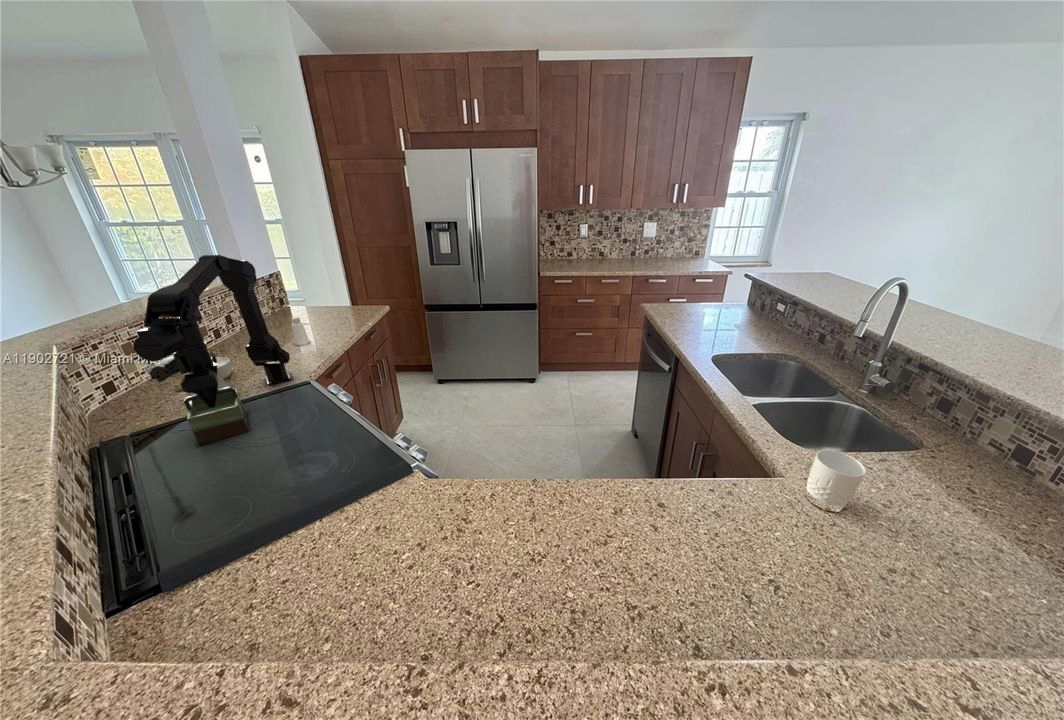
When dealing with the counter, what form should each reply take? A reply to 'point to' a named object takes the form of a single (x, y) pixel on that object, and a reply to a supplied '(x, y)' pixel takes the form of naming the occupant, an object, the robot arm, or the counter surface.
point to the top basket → (214, 410)
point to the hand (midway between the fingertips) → (212, 399)
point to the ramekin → (223, 366)
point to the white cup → (834, 477)
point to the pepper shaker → (299, 332)
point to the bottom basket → (222, 431)
